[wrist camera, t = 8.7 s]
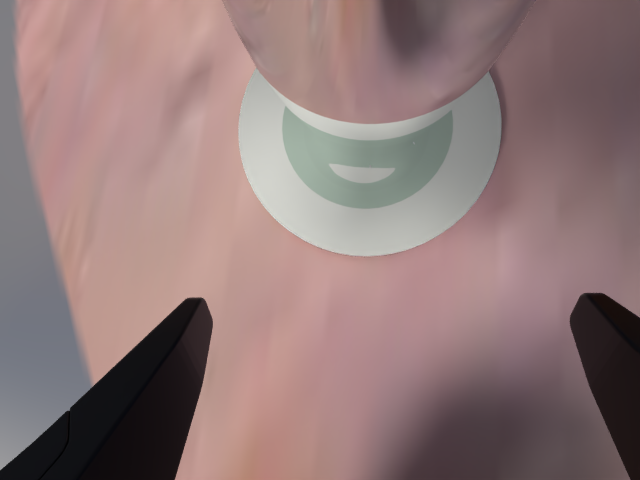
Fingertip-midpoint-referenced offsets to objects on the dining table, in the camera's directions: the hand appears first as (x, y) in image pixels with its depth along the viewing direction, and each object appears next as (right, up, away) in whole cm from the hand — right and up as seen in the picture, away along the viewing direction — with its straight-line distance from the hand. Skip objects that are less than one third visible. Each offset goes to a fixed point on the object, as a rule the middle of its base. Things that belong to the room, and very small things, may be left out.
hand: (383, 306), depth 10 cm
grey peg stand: (+1, +7, +11) cm, 13 cm away
